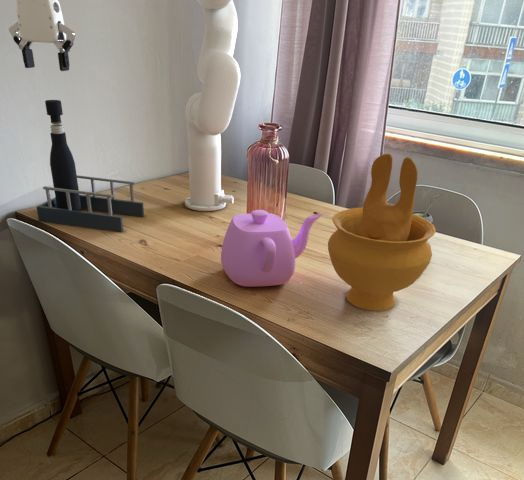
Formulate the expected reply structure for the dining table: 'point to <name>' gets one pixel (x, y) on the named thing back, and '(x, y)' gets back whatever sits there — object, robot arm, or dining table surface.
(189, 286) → the dining table surface
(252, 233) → the teapot
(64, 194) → the dark blue bottle
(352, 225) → the decorative bowl
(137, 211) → the dish rack
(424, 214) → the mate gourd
